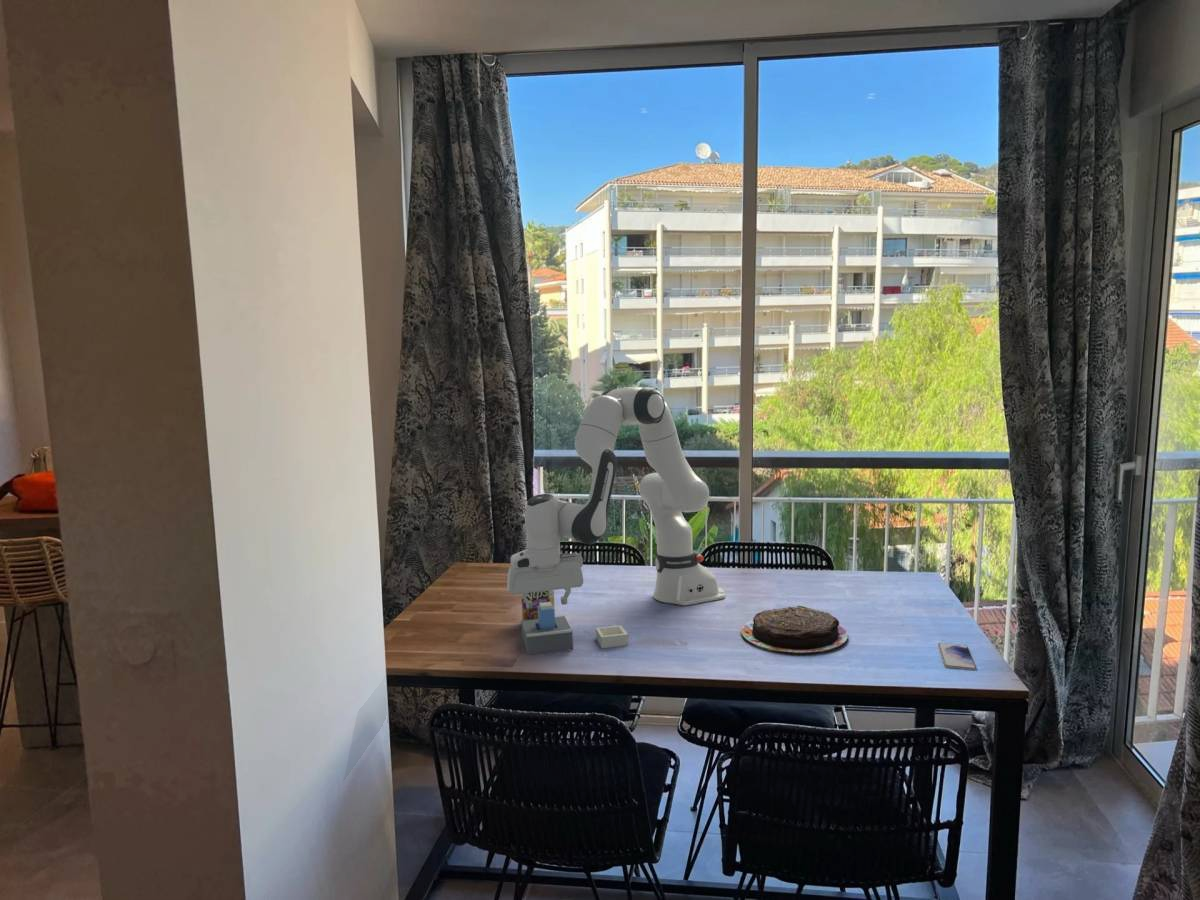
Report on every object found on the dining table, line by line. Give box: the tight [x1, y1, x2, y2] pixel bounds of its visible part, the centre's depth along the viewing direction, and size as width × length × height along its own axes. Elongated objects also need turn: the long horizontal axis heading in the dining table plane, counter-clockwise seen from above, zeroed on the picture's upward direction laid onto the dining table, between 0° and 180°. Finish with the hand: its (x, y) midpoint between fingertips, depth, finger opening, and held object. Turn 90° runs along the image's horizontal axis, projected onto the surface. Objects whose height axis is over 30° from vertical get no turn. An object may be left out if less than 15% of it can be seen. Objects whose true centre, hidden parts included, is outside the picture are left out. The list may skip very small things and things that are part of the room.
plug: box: [538, 602, 556, 630], centre depth 209 cm, size 4×4×10 cm
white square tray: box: [595, 624, 629, 649], centre depth 209 cm, size 7×7×3 cm
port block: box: [521, 615, 574, 655], centre depth 209 cm, size 12×12×5 cm
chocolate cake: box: [740, 605, 849, 656], centre depth 209 cm, size 28×28×7 cm
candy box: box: [520, 590, 555, 621], centre depth 224 cm, size 9×4×15 cm, turn 72°
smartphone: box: [937, 642, 977, 671], centre depth 192 cm, size 7×1×15 cm
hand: (546, 605), depth 208 cm, fingers open, 8 cm apart
